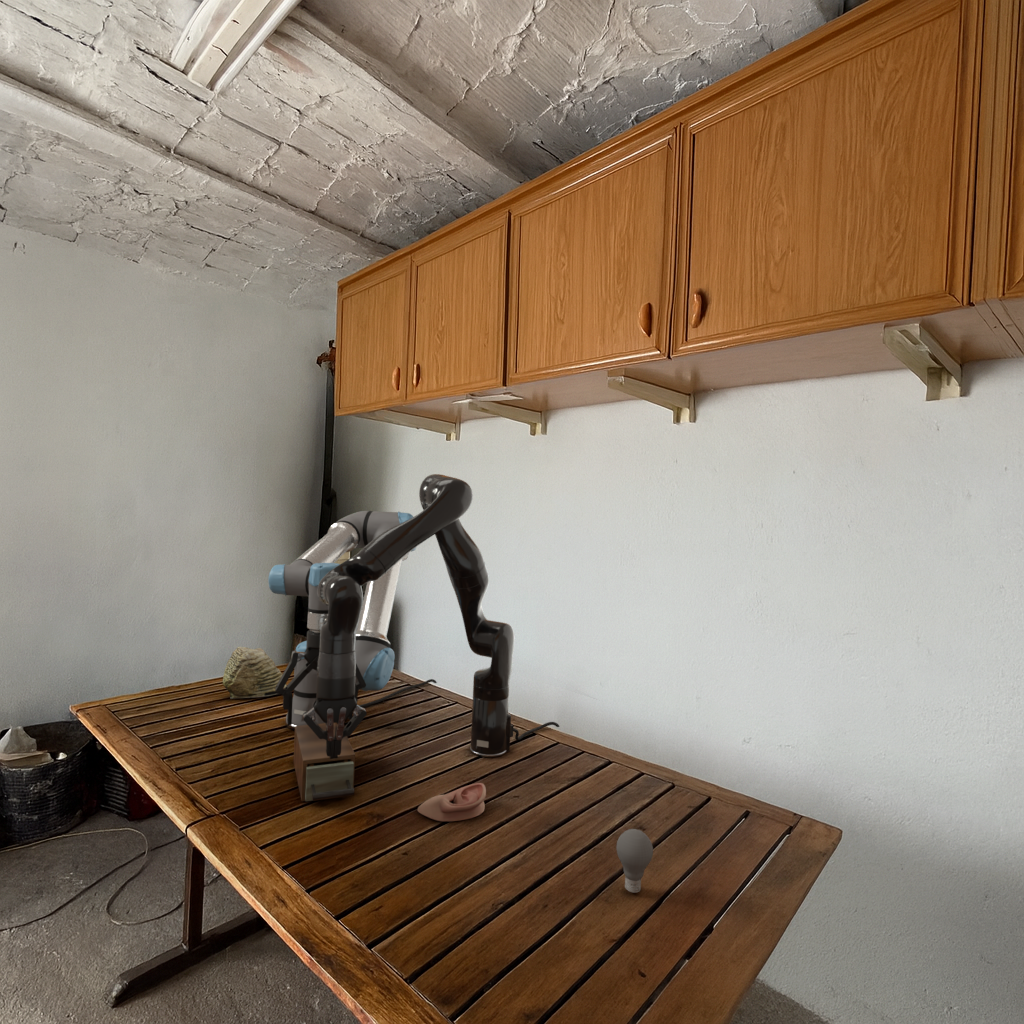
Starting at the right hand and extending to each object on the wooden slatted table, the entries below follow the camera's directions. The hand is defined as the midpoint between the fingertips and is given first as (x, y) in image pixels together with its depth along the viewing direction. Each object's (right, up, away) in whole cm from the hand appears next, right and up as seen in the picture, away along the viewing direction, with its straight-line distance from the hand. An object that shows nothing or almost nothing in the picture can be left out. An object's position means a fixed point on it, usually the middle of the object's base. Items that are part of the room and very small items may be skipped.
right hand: (333, 757), depth 128 cm
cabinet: (-7, -10, +15) cm, 19 cm away
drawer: (-4, -9, +9) cm, 14 cm away
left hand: (-9, +1, +20) cm, 21 cm away
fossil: (-44, -8, +70) cm, 83 cm away
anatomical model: (+24, -12, +2) cm, 27 cm away
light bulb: (+56, -14, -23) cm, 62 cm away
